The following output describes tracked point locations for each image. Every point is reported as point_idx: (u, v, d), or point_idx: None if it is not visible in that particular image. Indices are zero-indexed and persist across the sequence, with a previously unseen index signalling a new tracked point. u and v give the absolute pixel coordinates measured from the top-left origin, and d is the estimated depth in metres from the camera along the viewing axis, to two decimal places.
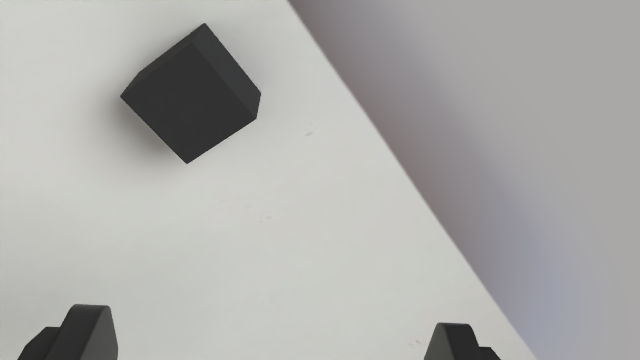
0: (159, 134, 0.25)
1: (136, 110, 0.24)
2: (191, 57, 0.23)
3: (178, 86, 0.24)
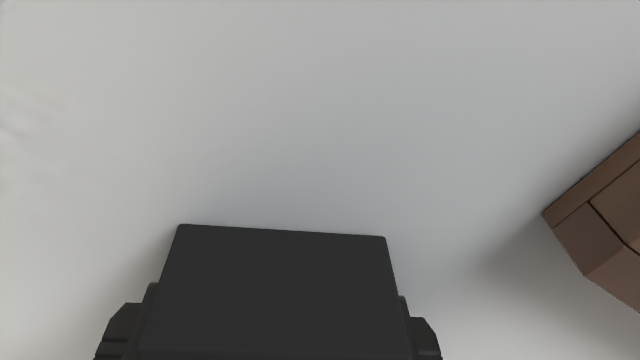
0: None
1: None
2: None
3: None
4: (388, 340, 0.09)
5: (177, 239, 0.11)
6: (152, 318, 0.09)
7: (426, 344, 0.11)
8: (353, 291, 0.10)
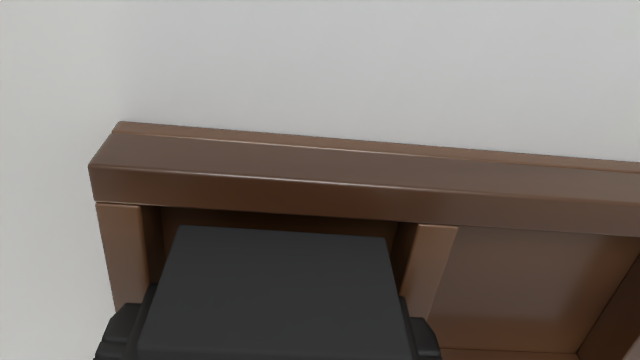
0: None
1: None
2: None
3: None
4: (387, 341, 0.09)
5: (177, 240, 0.11)
6: (152, 319, 0.09)
7: (426, 344, 0.11)
8: (352, 292, 0.10)
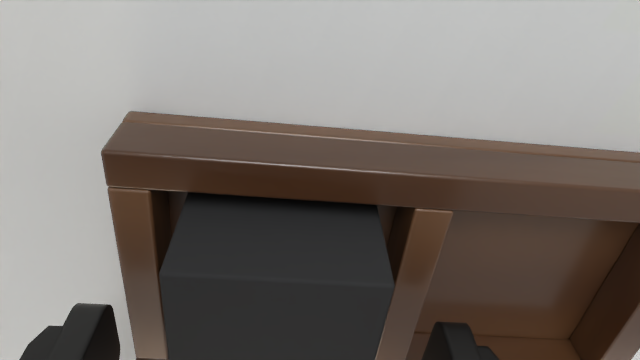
0: None
1: None
2: None
3: None
4: (374, 272, 0.10)
5: (190, 193, 0.12)
6: (172, 252, 0.10)
7: None
8: (344, 235, 0.11)
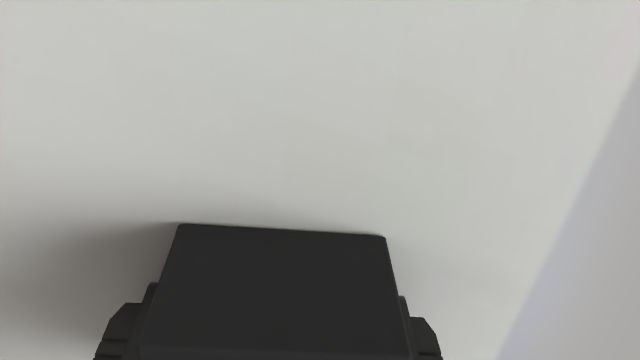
0: None
1: None
2: None
3: None
4: None
5: None
6: None
7: (426, 344, 0.11)
8: None
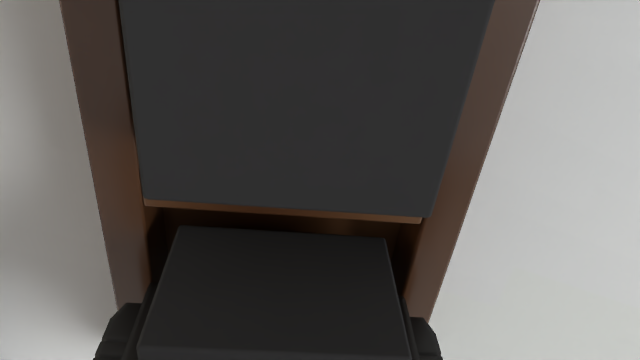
0: None
1: None
2: None
3: None
4: None
5: None
6: None
7: (426, 344, 0.11)
8: None
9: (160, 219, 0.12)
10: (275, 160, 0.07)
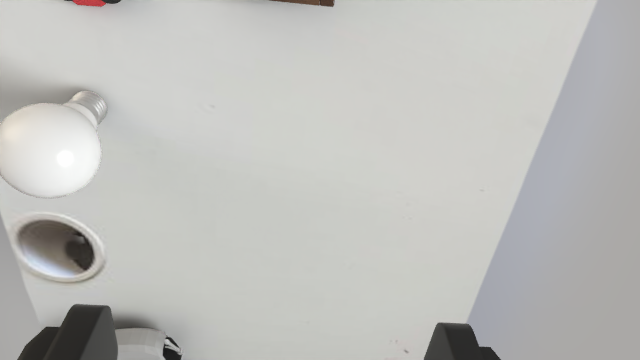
0: None
1: None
2: None
3: None
4: None
5: None
6: None
7: None
8: None
9: None
10: None
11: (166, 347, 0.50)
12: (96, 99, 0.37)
